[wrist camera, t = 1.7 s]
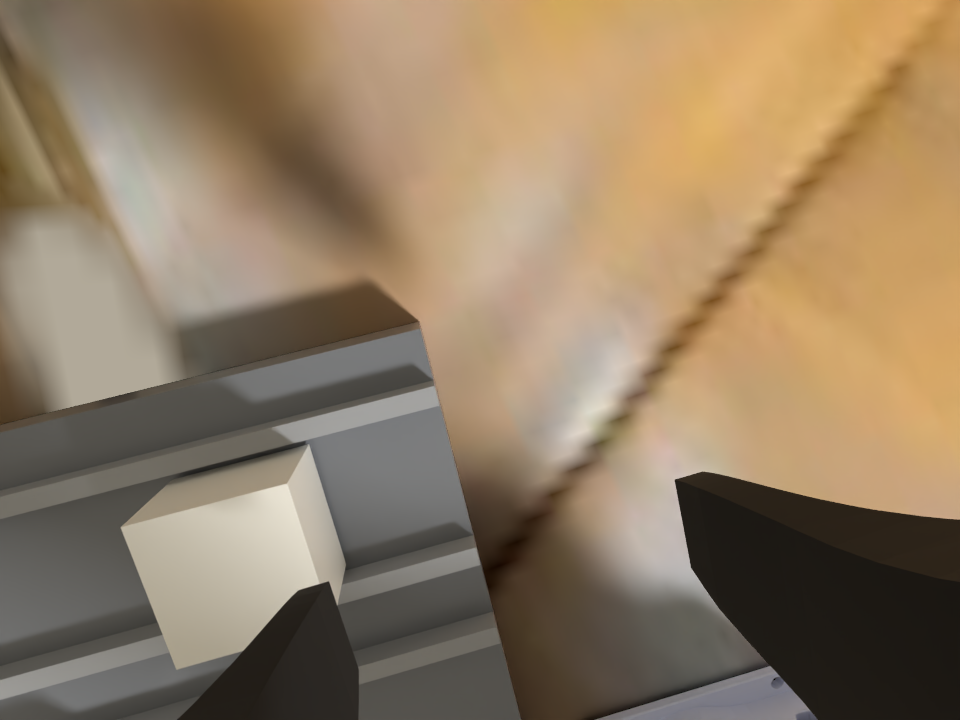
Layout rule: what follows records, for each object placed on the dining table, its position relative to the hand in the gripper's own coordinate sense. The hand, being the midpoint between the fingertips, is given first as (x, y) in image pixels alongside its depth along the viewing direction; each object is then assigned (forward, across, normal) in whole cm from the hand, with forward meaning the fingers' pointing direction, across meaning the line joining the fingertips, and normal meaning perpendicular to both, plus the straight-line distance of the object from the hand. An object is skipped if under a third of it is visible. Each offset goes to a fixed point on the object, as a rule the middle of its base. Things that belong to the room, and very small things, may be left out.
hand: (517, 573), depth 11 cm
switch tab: (+6, +7, 0) cm, 9 cm away
